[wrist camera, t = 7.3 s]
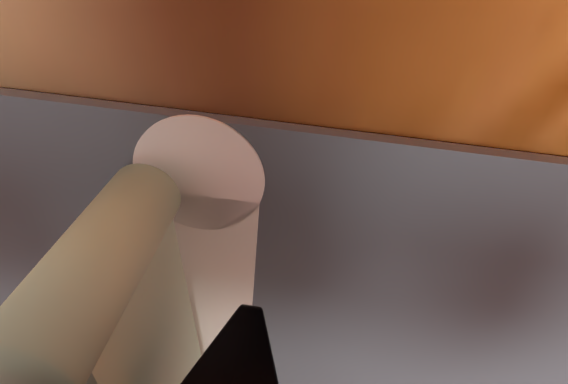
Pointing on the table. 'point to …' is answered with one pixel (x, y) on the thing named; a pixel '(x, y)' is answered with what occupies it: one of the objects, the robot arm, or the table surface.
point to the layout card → (319, 235)
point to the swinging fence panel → (106, 295)
